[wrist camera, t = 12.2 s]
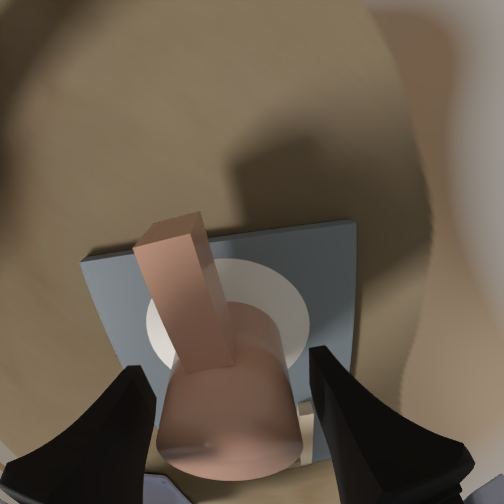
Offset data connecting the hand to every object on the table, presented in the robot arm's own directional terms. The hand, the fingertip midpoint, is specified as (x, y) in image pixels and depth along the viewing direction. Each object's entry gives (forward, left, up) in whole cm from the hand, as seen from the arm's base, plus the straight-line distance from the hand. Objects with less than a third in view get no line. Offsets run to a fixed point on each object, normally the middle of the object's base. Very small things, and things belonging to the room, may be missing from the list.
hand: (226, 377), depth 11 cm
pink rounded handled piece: (+2, 0, -3) cm, 3 cm away
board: (-5, 0, -3) cm, 6 cm away
